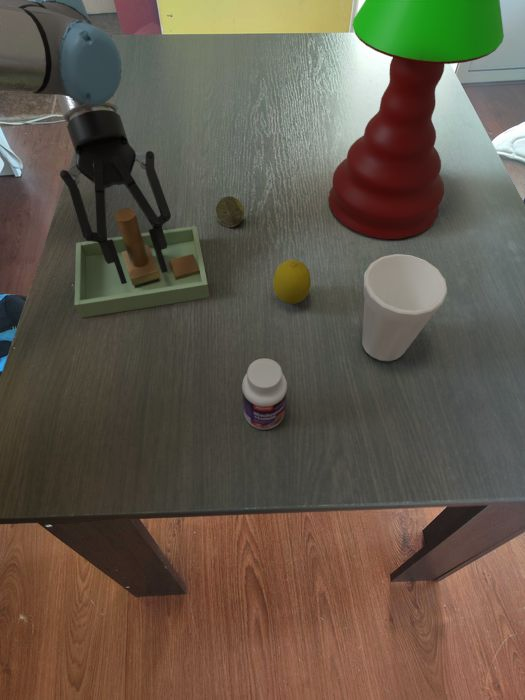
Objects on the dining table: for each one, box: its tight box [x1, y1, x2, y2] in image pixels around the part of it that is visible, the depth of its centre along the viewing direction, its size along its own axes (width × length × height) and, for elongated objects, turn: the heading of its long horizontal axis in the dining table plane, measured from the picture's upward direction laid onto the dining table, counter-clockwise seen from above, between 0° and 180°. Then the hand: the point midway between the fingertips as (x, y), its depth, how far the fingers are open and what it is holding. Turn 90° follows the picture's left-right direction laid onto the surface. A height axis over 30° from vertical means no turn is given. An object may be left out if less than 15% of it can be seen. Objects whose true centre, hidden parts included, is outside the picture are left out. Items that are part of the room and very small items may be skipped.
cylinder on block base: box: [114, 207, 160, 288], centre depth 70 cm, size 4×6×11 cm
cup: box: [361, 253, 448, 362], centre depth 62 cm, size 10×10×13 cm
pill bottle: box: [241, 357, 288, 430], centre depth 57 cm, size 5×5×10 cm
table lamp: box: [328, 0, 505, 240], centre depth 67 cm, size 20×20×45 cm
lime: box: [215, 196, 245, 228], centre depth 80 cm, size 4×5×5 cm
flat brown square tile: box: [169, 254, 200, 280], centre depth 75 cm, size 4×4×1 cm
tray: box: [74, 225, 210, 319], centre depth 74 cm, size 20×14×3 cm
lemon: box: [272, 259, 312, 305], centre depth 69 cm, size 6×6×8 cm
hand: (144, 277), depth 70 cm, fingers open, 6 cm apart
